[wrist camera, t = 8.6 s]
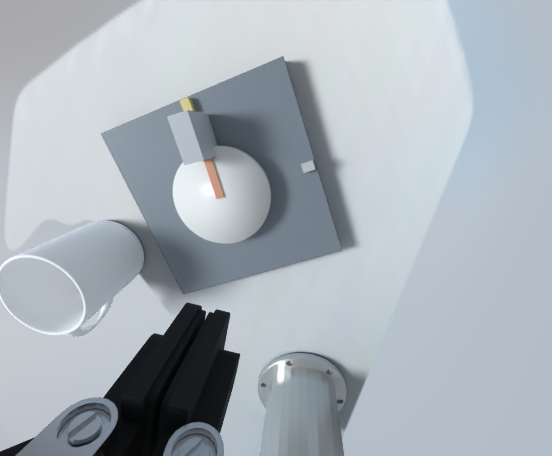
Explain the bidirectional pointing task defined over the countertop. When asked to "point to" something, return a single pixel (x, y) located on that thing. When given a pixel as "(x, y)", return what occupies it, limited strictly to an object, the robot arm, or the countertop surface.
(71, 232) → the mug
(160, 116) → the panel
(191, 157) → the dial
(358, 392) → the countertop surface
